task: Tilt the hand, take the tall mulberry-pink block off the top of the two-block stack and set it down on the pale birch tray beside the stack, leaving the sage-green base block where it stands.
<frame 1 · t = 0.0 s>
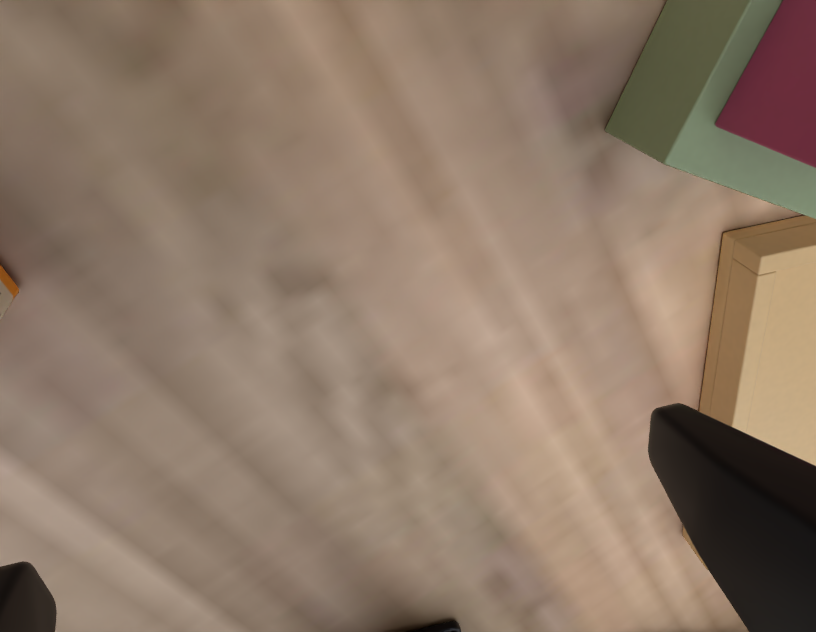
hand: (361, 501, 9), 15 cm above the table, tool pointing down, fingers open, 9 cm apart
mulberry block: (815, 87, 20), point 4 cm above the table, touching sage block
sage block: (731, 64, 23), on the table, touching mulberry block
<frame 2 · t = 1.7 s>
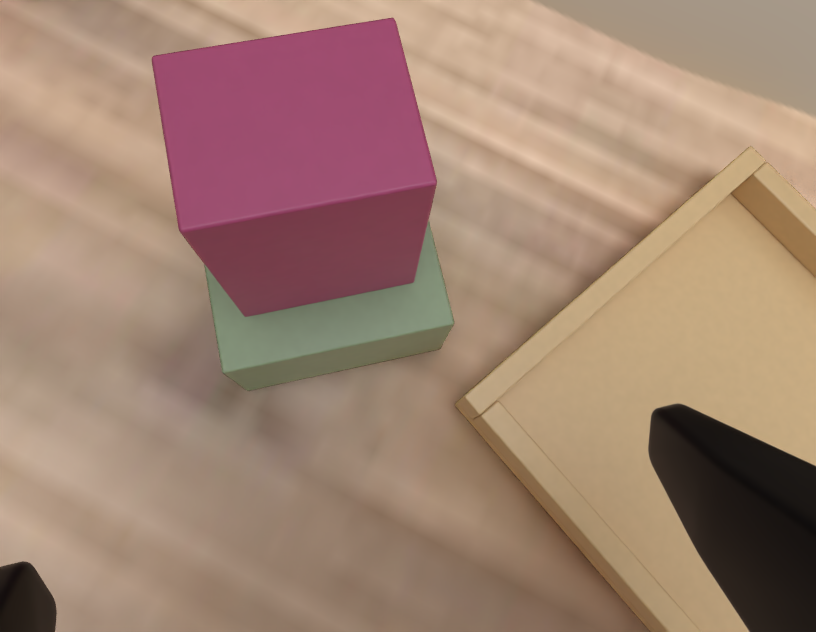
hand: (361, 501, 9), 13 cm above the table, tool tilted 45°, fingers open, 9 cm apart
mulberry block: (317, 238, 20), point 4 cm above the table, touching sage block
sage block: (326, 277, 24), on the table, touching mulberry block
tray: (768, 470, 23), on the table
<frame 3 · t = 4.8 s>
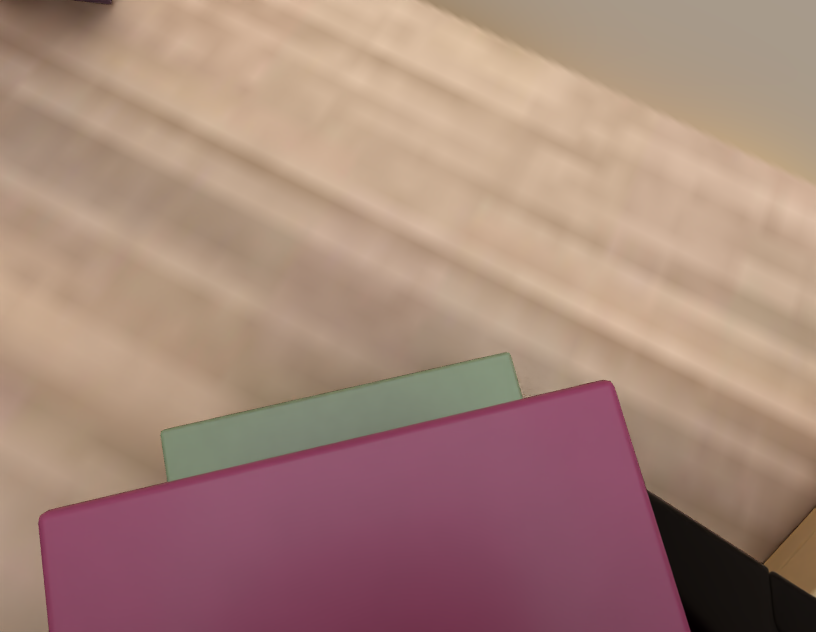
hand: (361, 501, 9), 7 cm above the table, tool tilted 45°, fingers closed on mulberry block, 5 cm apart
mulberry block: (378, 574, 12), point 4 cm above the table, touching gripper, sage block
sage block: (377, 553, 16), on the table, touching mulberry block
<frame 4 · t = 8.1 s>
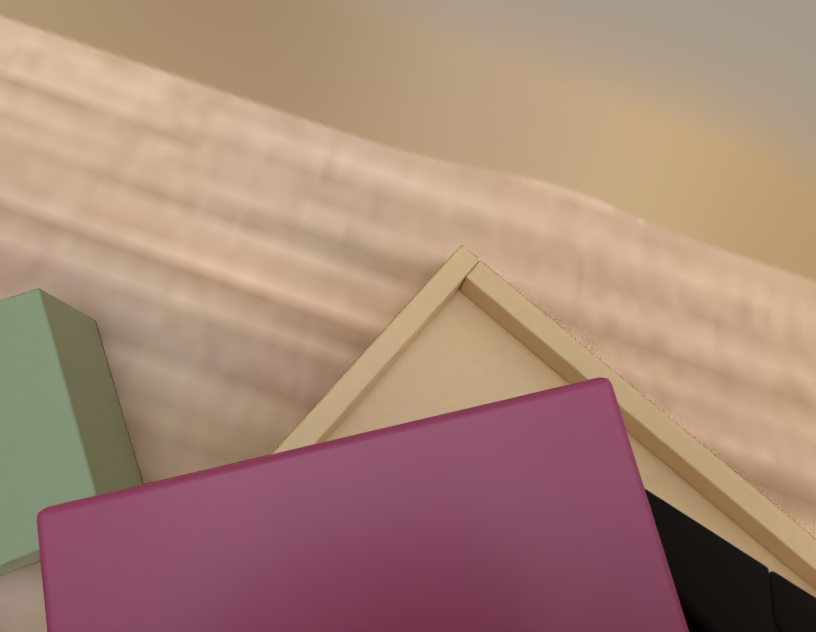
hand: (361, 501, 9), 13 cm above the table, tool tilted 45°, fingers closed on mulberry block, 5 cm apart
mulberry block: (377, 573, 12), point 10 cm above the table, touching gripper
sage block: (17, 453, 22), on the table
tray: (526, 596, 21), on the table
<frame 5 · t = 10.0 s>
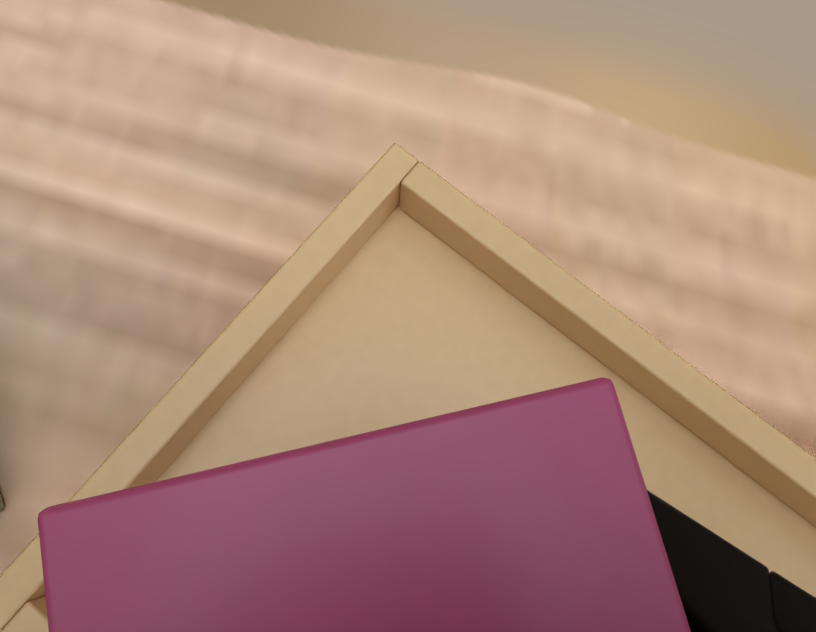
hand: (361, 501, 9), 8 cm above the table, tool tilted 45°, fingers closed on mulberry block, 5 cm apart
mulberry block: (378, 573, 12), point 5 cm above the table, touching gripper
tray: (495, 591, 17), on the table
when the fingers open (4 cm above the table, at t = 11.7 s): mulberry block stays where it is, resting on tray.
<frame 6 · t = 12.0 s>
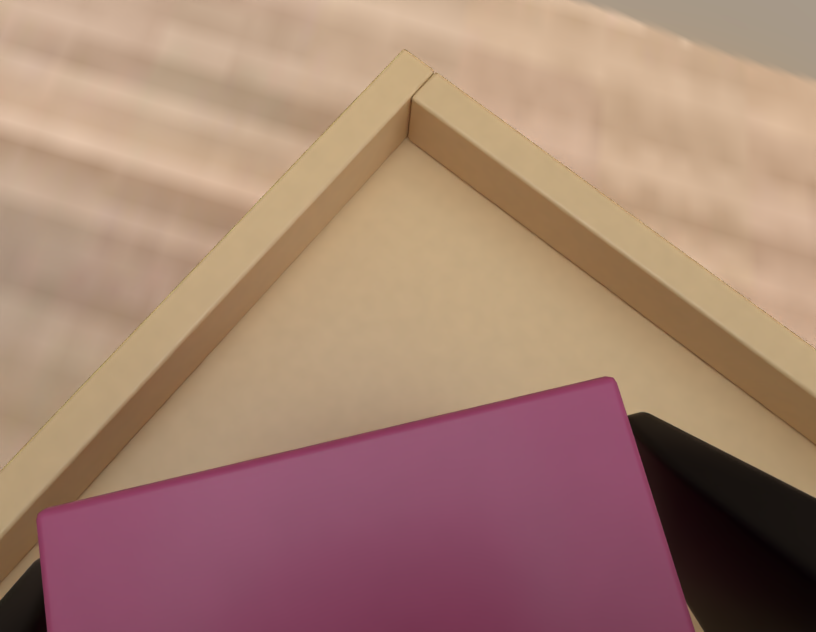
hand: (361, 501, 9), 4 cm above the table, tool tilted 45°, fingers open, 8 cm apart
mulberry block: (379, 573, 12), point 1 cm above the table, touching tray
tray: (534, 630, 13), on the table
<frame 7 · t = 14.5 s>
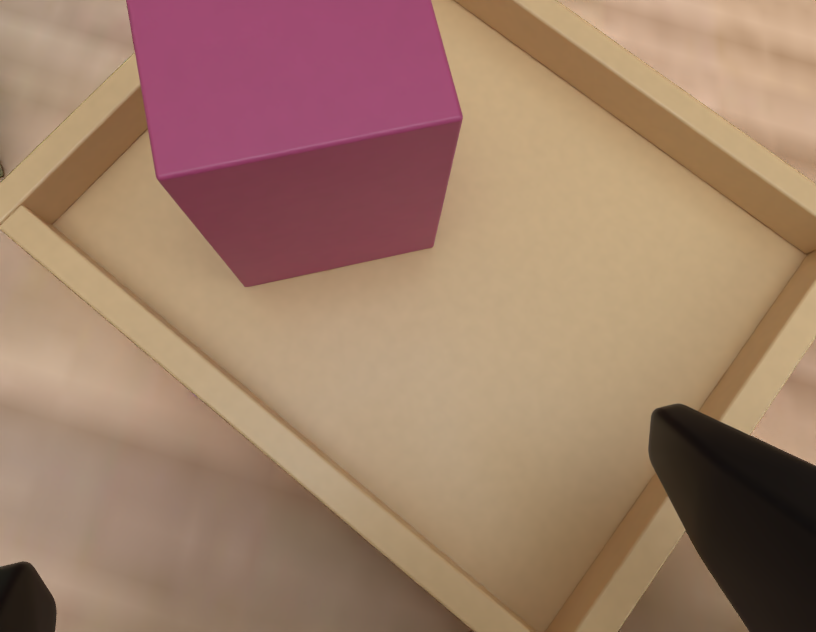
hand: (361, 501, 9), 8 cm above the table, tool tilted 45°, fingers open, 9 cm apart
mulberry block: (325, 199, 18), point 1 cm above the table, touching tray
tray: (432, 249, 19), on the table
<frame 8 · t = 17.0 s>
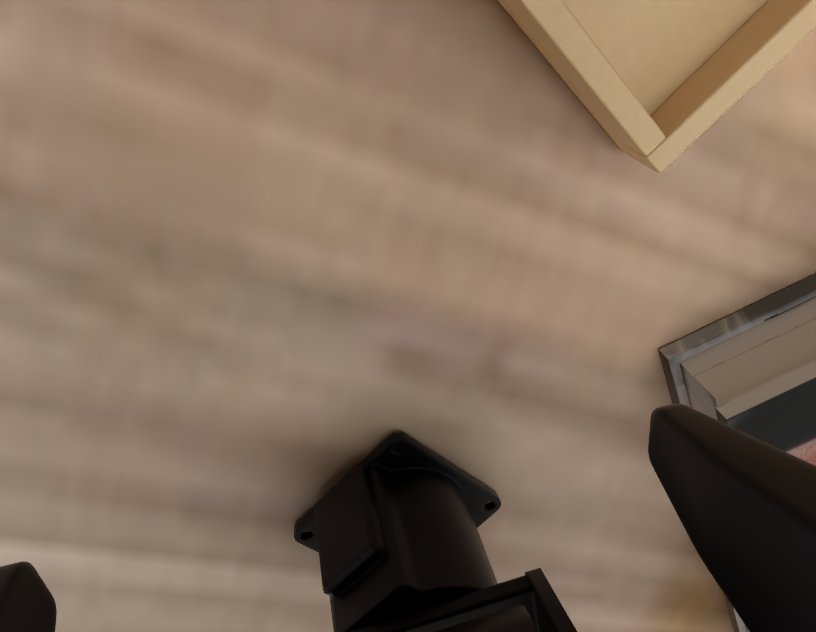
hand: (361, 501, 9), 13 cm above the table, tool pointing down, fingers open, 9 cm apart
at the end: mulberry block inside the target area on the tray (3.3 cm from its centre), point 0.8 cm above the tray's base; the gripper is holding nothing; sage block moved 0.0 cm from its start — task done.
